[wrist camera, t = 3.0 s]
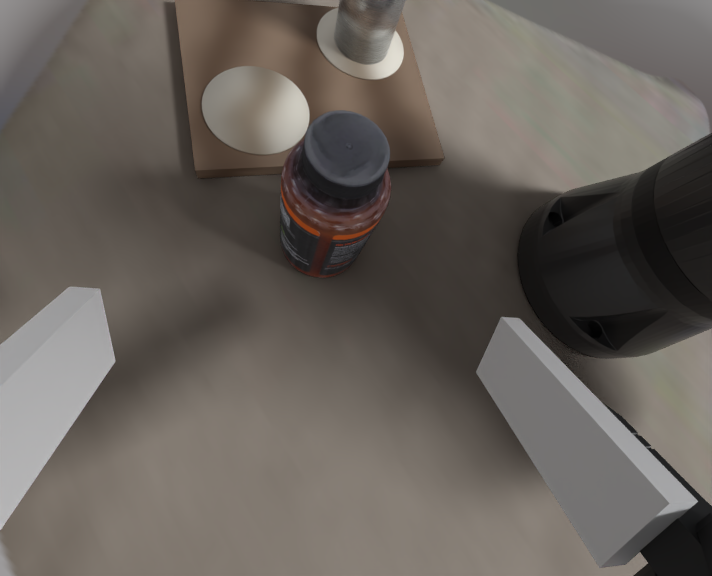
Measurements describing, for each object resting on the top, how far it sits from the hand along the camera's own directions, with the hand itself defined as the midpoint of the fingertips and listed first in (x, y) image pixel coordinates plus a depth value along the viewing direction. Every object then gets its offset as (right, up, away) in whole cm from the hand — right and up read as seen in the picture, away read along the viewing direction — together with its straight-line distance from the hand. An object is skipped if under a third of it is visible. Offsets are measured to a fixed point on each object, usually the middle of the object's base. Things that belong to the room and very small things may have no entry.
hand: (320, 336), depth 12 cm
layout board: (-3, +19, +17) cm, 26 cm away
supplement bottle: (-2, +5, +14) cm, 15 cm away
